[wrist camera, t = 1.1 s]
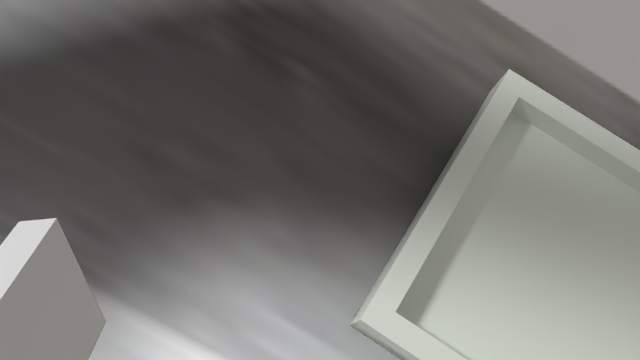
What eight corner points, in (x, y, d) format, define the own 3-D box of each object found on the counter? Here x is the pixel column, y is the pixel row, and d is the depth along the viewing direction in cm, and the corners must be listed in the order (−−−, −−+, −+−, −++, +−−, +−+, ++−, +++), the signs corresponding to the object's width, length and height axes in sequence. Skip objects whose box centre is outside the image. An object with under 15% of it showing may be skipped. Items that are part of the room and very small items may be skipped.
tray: (349, 324, 30) (360, 319, 27) (490, 90, 35) (509, 68, 33) (706, 563, 28) (749, 579, 26) (794, 280, 34) (836, 272, 32)
